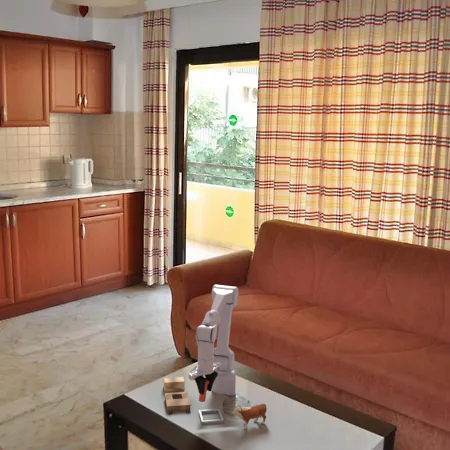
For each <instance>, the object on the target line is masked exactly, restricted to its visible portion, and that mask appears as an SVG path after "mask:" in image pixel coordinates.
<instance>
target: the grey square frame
mask: <svg viewBox="0 0 450 450" xmlns="http://www.w3.org/2000/svg"><path fill="white" fill-rule="evenodd" d="M212 413H214V414H215V413H217V414H218V416H219V419H208V420H204V418H203V417H204V416H203V414H212ZM222 414H223V413H222V411H221V408H212V409H201V410H200V409H199V410H198V415H199V419H200V422H201V425H210V424H212V425H213V424H224V421H225V420H224V417H223V415H222Z"/></svg>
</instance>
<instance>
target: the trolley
mask: <svg viewBox="0 0 450 450" xmlns="http://www.w3.org/2000/svg"><path fill="white" fill-rule="evenodd" d="M164 398H165V403H166V404H165V405H166V408H167V413H168V415H173V412H183V411H186V413H187V414H189V413H191V407H192V403H191V400H190V396H189V392H188V391H178V392H177V391H174V392H165V393H164Z"/></svg>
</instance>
